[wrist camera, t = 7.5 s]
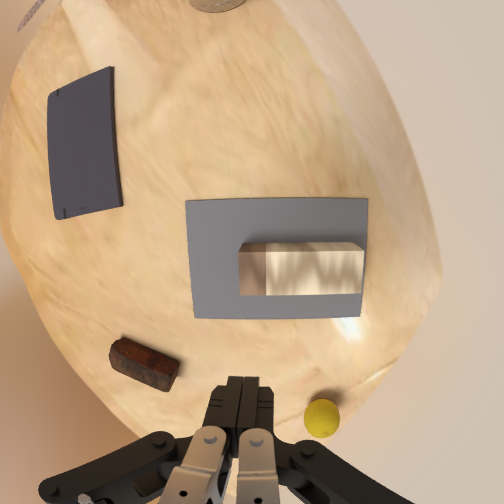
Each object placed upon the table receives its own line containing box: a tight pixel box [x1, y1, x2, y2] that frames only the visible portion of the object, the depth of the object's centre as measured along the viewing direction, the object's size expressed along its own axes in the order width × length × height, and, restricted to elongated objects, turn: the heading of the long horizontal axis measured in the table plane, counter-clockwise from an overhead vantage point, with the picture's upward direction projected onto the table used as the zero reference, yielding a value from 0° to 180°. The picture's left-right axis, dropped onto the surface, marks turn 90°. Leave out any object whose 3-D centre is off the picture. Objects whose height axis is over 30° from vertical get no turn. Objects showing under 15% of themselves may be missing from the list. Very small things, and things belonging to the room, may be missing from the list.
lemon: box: [304, 399, 340, 438], centre depth 39 cm, size 6×6×8 cm
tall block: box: [238, 242, 364, 295], centre depth 34 cm, size 5×5×14 cm
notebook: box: [47, 66, 123, 220], centre depth 35 cm, size 13×2×21 cm
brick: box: [109, 338, 179, 392], centre depth 40 cm, size 11×4×5 cm, turn 72°
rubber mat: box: [185, 198, 368, 319], centre depth 37 cm, size 16×23×1 cm
